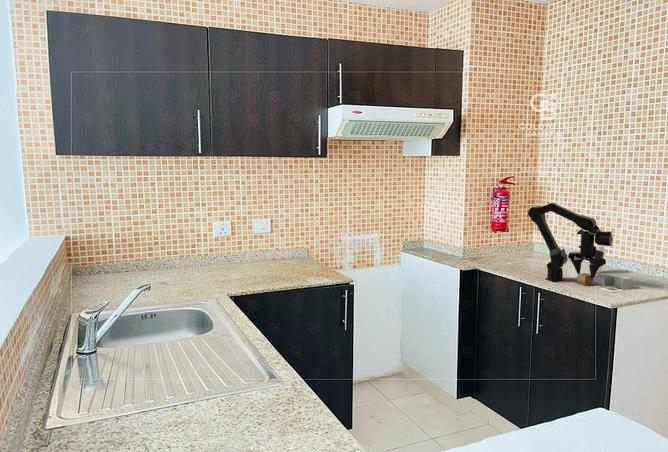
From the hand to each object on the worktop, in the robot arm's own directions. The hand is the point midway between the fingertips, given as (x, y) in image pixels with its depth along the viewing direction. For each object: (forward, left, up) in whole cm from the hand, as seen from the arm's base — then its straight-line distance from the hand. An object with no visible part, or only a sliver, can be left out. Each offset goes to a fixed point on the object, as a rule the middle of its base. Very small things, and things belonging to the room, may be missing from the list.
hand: (585, 275), depth 242 cm
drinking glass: (+24, +20, -5) cm, 32 cm away
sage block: (+12, -10, -4) cm, 16 cm away
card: (+4, -12, -4) cm, 13 cm away
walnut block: (0, 0, -4) cm, 4 cm away
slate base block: (+10, -1, -5) cm, 11 cm away
